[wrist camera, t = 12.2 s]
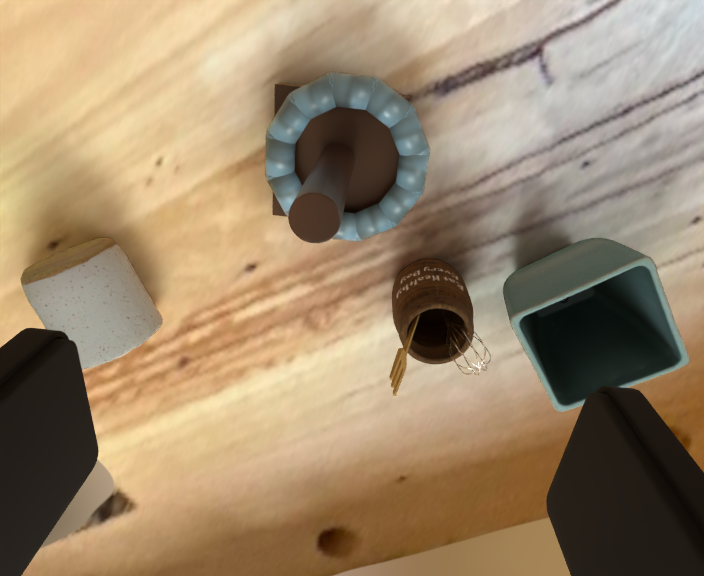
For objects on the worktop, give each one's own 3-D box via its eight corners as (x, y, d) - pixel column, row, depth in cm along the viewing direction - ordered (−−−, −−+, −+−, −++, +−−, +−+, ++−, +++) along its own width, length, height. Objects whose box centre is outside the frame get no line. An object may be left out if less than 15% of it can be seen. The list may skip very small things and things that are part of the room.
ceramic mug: (128, 222, 37) (70, 260, 31) (178, 308, 41) (136, 360, 34) (22, 260, 40) (-54, 303, 33) (78, 338, 43) (19, 393, 36)
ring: (267, 226, 35) (261, 235, 34) (270, 64, 30) (263, 65, 29) (413, 241, 35) (415, 251, 34) (439, 82, 30) (443, 84, 29)
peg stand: (276, 209, 36) (219, 295, 23) (279, 82, 32) (211, 102, 19) (392, 221, 36) (399, 315, 23) (409, 96, 32) (430, 125, 19)
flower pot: (480, 262, 37) (507, 319, 29) (590, 208, 35) (652, 254, 27) (523, 344, 41) (558, 415, 33) (626, 299, 38) (692, 364, 30)
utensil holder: (468, 315, 40) (500, 412, 29) (393, 325, 40) (398, 424, 30) (461, 250, 37) (494, 331, 26) (382, 263, 38) (383, 346, 27)
